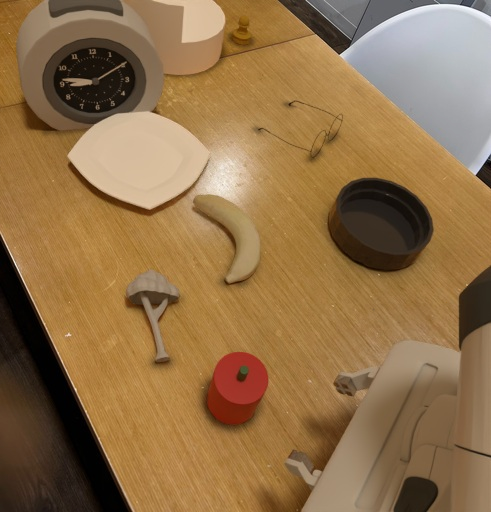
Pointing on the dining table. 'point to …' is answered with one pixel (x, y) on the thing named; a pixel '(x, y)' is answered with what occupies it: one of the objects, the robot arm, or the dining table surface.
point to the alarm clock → (87, 62)
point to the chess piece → (242, 32)
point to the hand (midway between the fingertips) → (315, 419)
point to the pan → (380, 223)
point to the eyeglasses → (319, 133)
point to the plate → (139, 158)
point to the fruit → (234, 234)
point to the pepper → (237, 387)
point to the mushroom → (153, 301)
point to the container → (183, 32)
